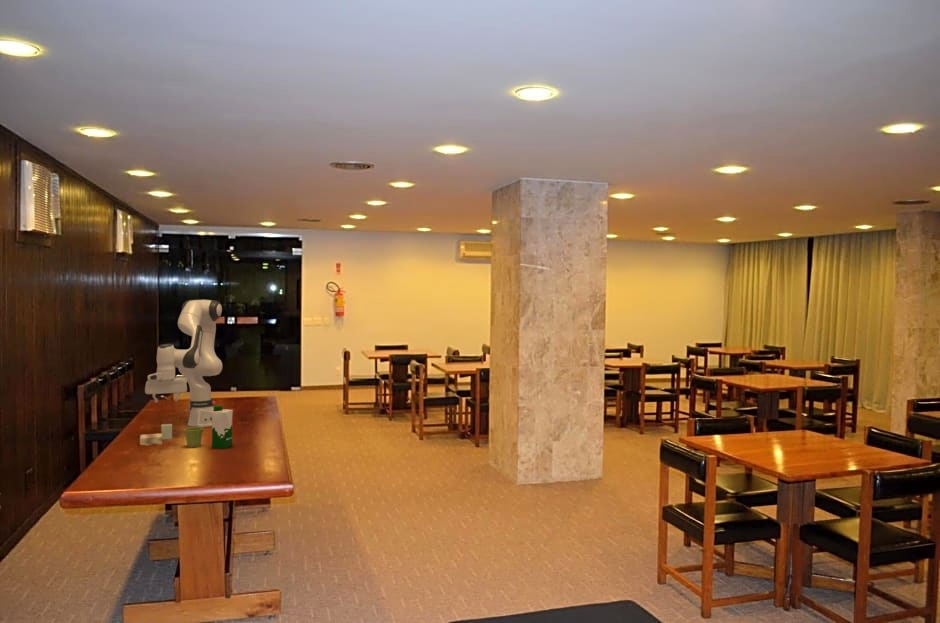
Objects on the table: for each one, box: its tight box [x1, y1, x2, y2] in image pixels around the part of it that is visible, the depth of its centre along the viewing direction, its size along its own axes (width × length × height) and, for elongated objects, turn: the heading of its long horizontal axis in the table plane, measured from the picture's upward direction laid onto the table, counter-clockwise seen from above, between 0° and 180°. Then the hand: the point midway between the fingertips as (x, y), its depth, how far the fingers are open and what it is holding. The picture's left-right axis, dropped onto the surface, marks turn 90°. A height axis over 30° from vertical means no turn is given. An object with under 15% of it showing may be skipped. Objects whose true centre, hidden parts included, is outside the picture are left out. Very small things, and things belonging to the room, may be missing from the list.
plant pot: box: [183, 426, 205, 448], centre depth 350 cm, size 9×9×9 cm
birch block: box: [139, 433, 163, 446], centre depth 358 cm, size 10×10×4 cm
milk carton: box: [211, 405, 234, 450], centre depth 348 cm, size 9×9×20 cm
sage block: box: [160, 423, 173, 440], centre depth 370 cm, size 5×5×7 cm
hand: (166, 401), depth 369 cm, fingers open, 8 cm apart
